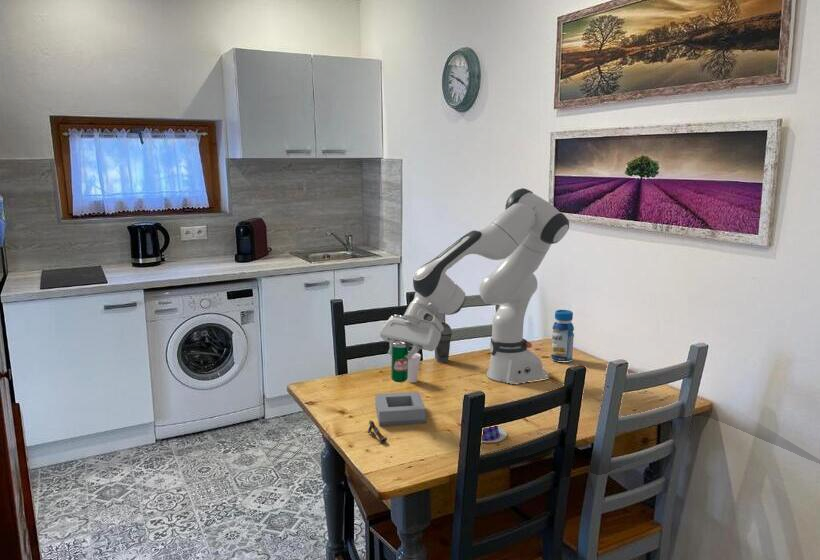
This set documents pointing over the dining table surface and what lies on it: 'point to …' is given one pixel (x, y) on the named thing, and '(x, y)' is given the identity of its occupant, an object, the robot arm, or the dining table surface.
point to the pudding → (493, 434)
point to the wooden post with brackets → (381, 437)
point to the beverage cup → (444, 344)
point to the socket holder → (400, 408)
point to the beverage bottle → (562, 336)
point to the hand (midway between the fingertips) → (398, 356)
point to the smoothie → (413, 368)
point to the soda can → (399, 361)
